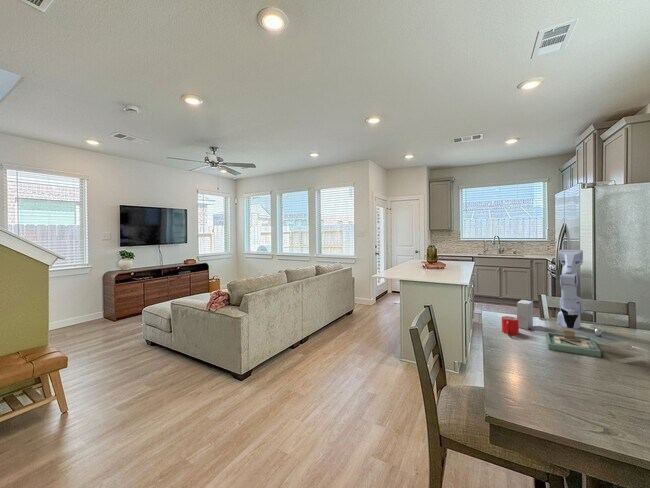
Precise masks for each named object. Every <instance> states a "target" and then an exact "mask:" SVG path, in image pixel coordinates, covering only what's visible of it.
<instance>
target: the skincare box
mask: <svg viewBox="0 0 650 488" xmlns="http://www.w3.org/2000/svg"><path fill="white" fill-rule="evenodd" d="M533 310H534V302H533V301H532V300H527V299H521V300H519V301H517V303H516V318H518V319H519V329H523V330H529V329H530V328H531V327H533V326H534V325H533V323H534V319H533V318H534V311H533Z"/></svg>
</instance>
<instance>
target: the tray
mask: <svg viewBox="0 0 650 488" xmlns="http://www.w3.org/2000/svg"><path fill="white" fill-rule="evenodd" d="M554 336H560V337H564V333H557V332H549V331H548V332H547V331H545V340H546V343H547V348H548V350H552V351H553V350H554V351H559V352H564V353H565V352H566V353H571V354H577V355H578V354H579V355H584V356H590V357H591V356H592V357H598V358H601V357H602V351H601V349H600V347H599V346H598V345H597V343H596V340H595V339H593V338H588V337H585V336H582V335H580V336H579V335H575V339H582V340H586V341H589V342H590V343H591V345H592V346H593V348H594V349H591V348H590V349H586V348H579V347H572V346H565V345H558V344H555V341H554ZM563 340H564V339H562V340H560V342H561V343H564V344H571V345H578V344H576V343H573V342H570V341H569V340H565V341H563ZM578 346H580V345H578Z"/></svg>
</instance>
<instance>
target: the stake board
mask: <svg viewBox="0 0 650 488" xmlns="http://www.w3.org/2000/svg"><path fill="white" fill-rule="evenodd" d="M575 335H578V336H579V335H580V336H581V337H588V338H593V340H594V341H598V342H601V343H604V344H608V343H616V342H623V341H624V342H625V341H630V340H631V339H630V338H626V337H623V336H620V335H616V334H614V333H613V334H612V333H609V332H607V331H602V337H596V336H595V329H589V330H581V331H575Z"/></svg>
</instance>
